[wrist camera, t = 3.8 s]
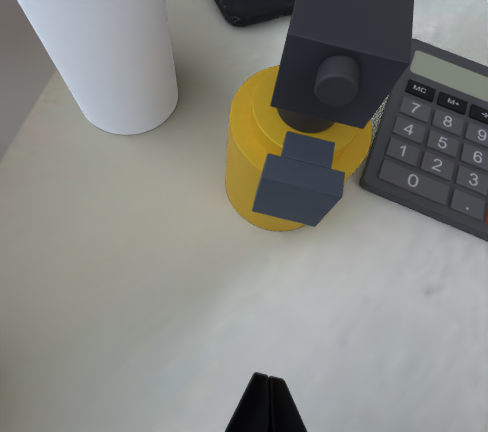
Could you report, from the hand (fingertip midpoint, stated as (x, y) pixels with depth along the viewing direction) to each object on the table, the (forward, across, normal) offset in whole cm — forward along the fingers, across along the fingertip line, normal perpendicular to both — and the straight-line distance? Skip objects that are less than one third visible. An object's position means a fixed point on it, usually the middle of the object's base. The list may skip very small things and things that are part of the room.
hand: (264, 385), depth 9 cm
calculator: (+21, -13, -6) cm, 25 cm away
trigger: (+7, 0, -3) cm, 8 cm away
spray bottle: (+16, 0, -1) cm, 16 cm away
